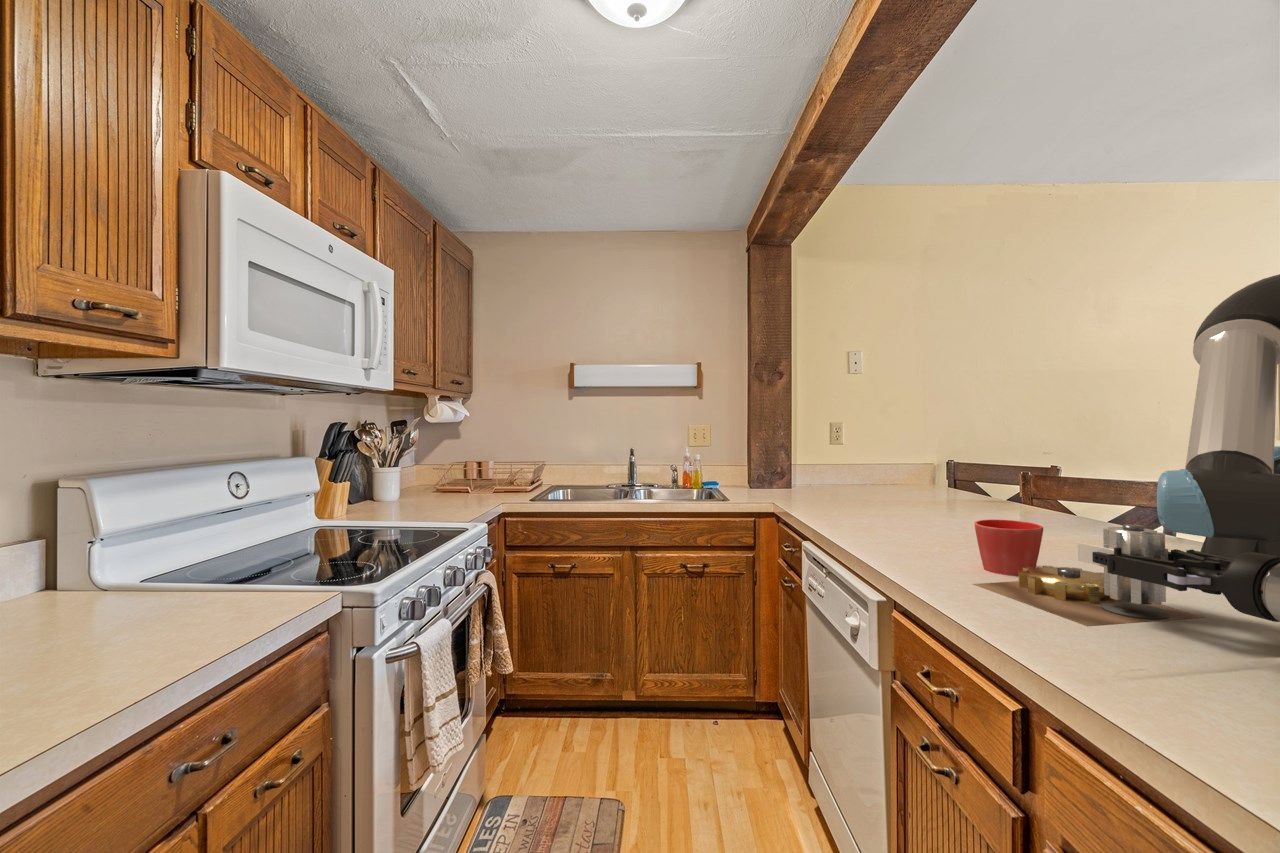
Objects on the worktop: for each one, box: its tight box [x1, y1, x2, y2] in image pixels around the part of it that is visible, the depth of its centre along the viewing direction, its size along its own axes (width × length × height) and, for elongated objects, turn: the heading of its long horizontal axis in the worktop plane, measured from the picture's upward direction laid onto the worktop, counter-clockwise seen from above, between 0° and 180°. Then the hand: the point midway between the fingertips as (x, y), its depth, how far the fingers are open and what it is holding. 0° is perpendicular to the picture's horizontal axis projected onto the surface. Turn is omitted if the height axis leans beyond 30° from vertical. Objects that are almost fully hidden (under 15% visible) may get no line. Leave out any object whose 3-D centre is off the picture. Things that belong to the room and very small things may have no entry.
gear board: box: [972, 580, 1206, 627], centre depth 93 cm, size 19×22×1 cm
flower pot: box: [974, 519, 1044, 577], centre depth 111 cm, size 11×11×10 cm
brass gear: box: [1017, 565, 1120, 604], centre depth 97 cm, size 14×14×4 cm
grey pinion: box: [1102, 523, 1167, 605], centre depth 86 cm, size 7×7×11 cm
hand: (1101, 550), depth 91 cm, fingers closed on grey pinion, 7 cm apart
